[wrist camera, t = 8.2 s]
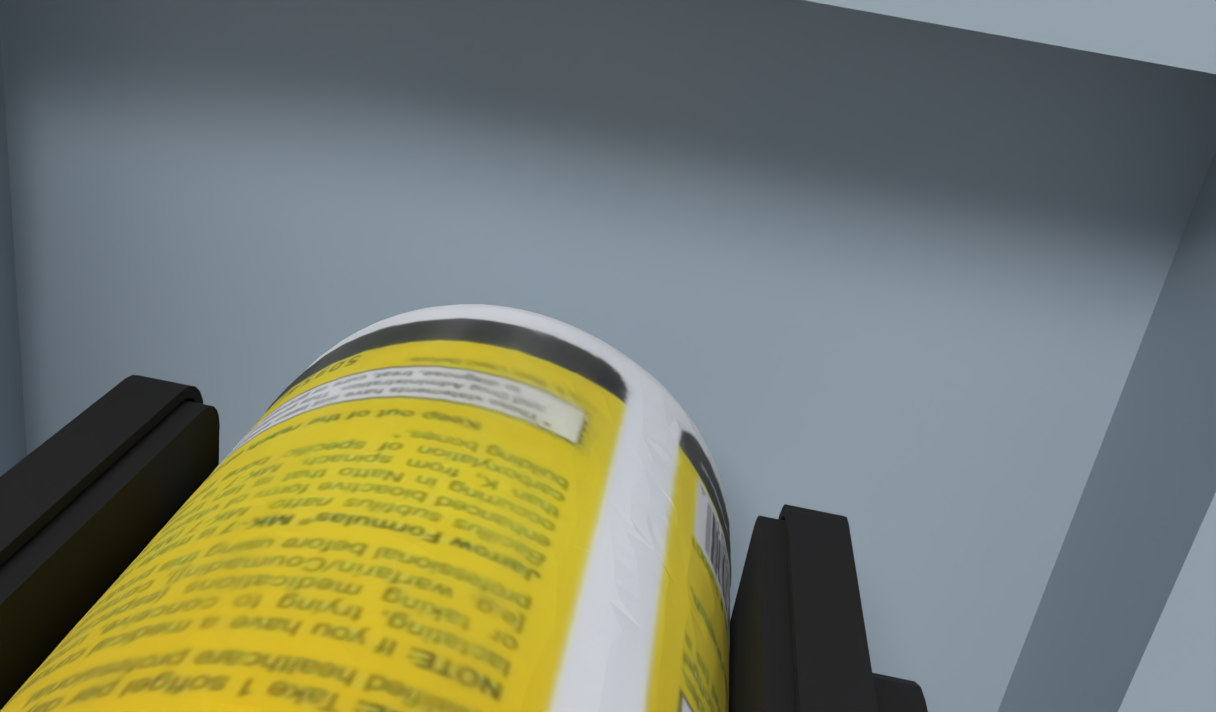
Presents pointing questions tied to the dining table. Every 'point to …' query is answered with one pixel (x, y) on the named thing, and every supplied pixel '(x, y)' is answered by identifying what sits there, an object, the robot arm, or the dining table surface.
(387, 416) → the supplement bottle
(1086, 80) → the tray
